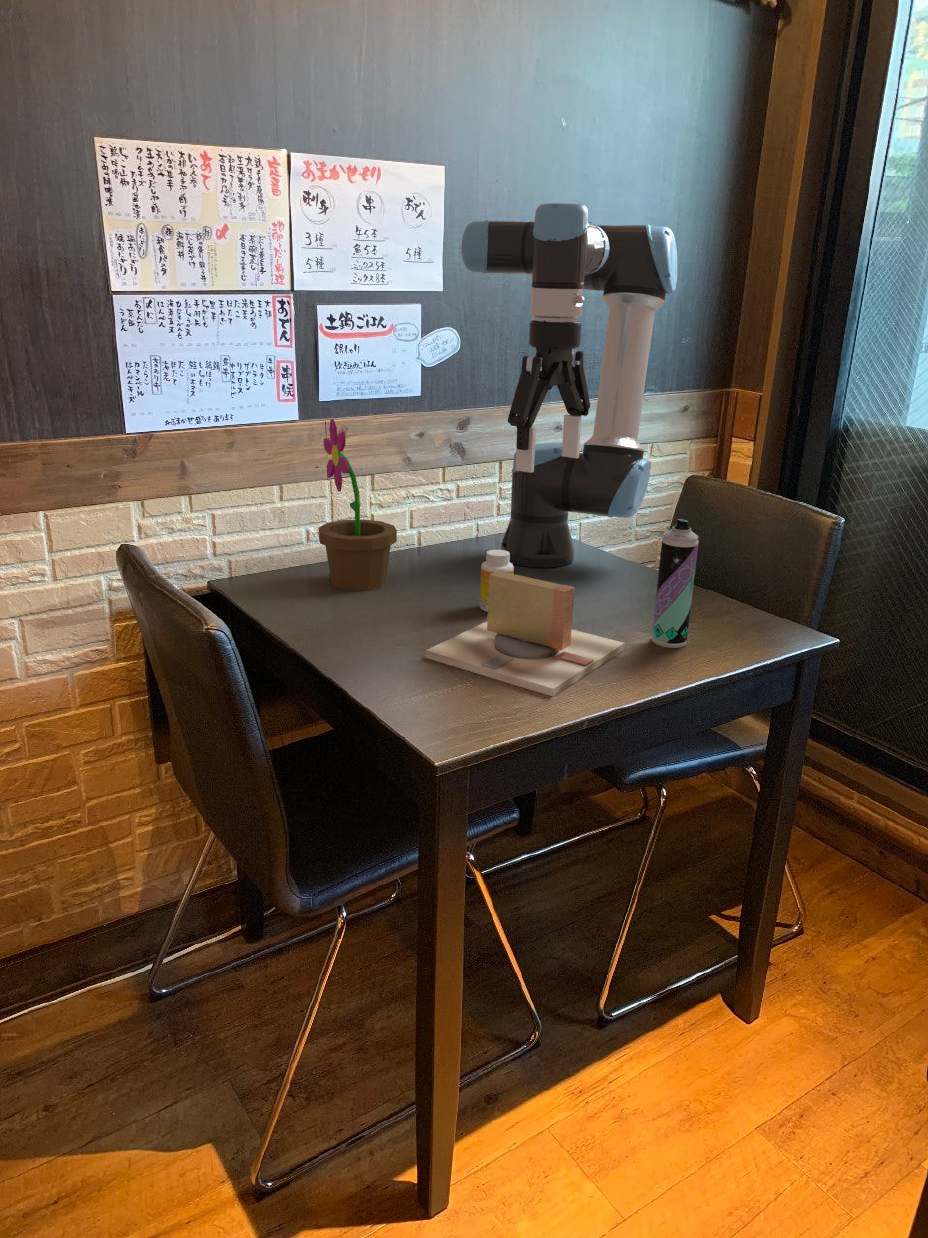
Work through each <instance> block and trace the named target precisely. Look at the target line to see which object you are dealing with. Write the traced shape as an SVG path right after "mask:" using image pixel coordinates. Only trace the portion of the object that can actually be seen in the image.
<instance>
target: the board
mask: <svg viewBox="0 0 928 1238" xmlns="http://www.w3.org/2000/svg"><path fill="white" fill-rule="evenodd" d="M625 646H626V645H625V642H623V641H619V640H615V639H612V638H611V639H610V638H606V637H603V636H599V635H597V634H596V635H595V634H591V633H588V632H584V631H580V630H576V629H572V631H571V645H570V646H568V647H567V648H565V649H563V650H558V649H555V648H551V647H549V646H545V645H541V644H537V643H533V642H523V641H520V640H519V639H518V638H514V637H510V636H506V635H503V634H499V633H495V632H491V631H487V620H486V621H484V622H482V623H480V624H478V625H476V626H474V627H471V628H470V629H468V630H466V631H465V630H464V631H463V632H462V633H459V634H458V635H455V636H453V637H451V638H449V639H447V640H445V641H443V642H441V643H438V644H436V645H435V646H432V647H430V648H428V649H426V651H425V659H428V660H432V661H435V662H438V663H442V664H445V665H449V666H451V667H453V668H454V667H455V668H458V669H461V670H464V671H467V672H471V673H474V674H477V675H481V676H484V677H486V678H487V677H488V678H490V679H494V680H497V681H500V682H503V683H507V684H510V685H513V686H515V687H516V686H517V687H520V688H523V689H527V690H529V691H533V692H536V693H539V694H543V695H546V696H550V697H552V698H553V697H555V696H556V695H559V694H560V693H561V692H562V691H564V690H566V689H567V688H569V687H570V686H572V685H573V684H575V683H576V682H578V681H580V680H581V679H582V678H584V677H585V676H587V675H588V674H590V673H592V672H593V671H594V670H596V669H597V668H599V667H600V666H603V664H605V663H607V662H608V661H610V660H611V659H613V658H615V657H616V656H617V655H618V654H620V653H622V652H623V651H625Z"/></svg>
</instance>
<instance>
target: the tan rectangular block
mask: <svg viewBox="0 0 928 1238" xmlns="http://www.w3.org/2000/svg"><path fill="white" fill-rule="evenodd" d="M574 599H575V586H573V585H572V586H571V585H567V584H560V583H556V582H551V581H546V580H542V579H537V578H532V577H529V576H523V575H519V574H514V573H513V574H510V573H506V572H501V571H497V572H494V573H492V574H490V575H489V593H488V612H487V620H486V621H487V631H491V632H495V633H499V634H503V635H506V636H510V637H514V638H518V639H519V640H520V641H523V642H533V643H537V644H541V645H545V646H549V647H551V648H555V649H558V650H563V649H565V648H567V647H568V646H570V645H571V631H572V628H573V616H574V602H575V600H574Z"/></svg>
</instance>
